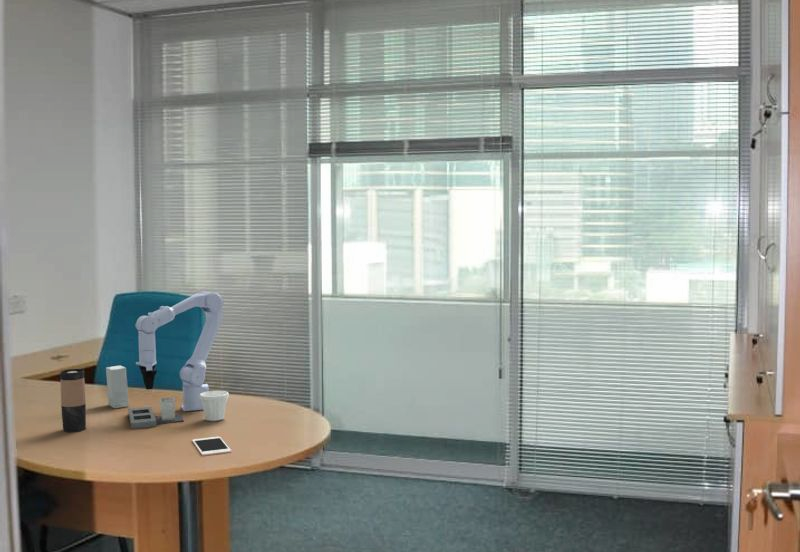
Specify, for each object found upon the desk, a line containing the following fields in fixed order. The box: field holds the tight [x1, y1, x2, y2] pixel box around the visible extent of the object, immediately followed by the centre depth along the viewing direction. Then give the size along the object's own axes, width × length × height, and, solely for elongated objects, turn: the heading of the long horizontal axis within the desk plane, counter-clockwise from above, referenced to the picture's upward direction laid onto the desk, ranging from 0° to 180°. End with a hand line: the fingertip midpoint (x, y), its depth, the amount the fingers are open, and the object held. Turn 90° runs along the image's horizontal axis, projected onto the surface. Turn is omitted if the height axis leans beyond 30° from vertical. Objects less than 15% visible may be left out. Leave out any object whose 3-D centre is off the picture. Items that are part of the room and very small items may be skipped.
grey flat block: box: [127, 406, 157, 430], centre depth 290 cm, size 8×22×2 cm, turn 21°
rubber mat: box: [155, 414, 184, 425], centre depth 291 cm, size 9×9×1 cm
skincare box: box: [105, 365, 130, 409], centre depth 313 cm, size 8×6×15 cm
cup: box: [200, 390, 230, 422], centre depth 290 cm, size 10×10×9 cm
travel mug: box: [59, 368, 87, 433], centre depth 278 cm, size 8×8×20 cm
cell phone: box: [191, 436, 232, 457], centre depth 257 cm, size 9×18×1 cm, turn 24°
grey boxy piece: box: [158, 396, 177, 421], centre depth 290 cm, size 5×5×7 cm
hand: (148, 387), depth 296 cm, fingers open, 7 cm apart
